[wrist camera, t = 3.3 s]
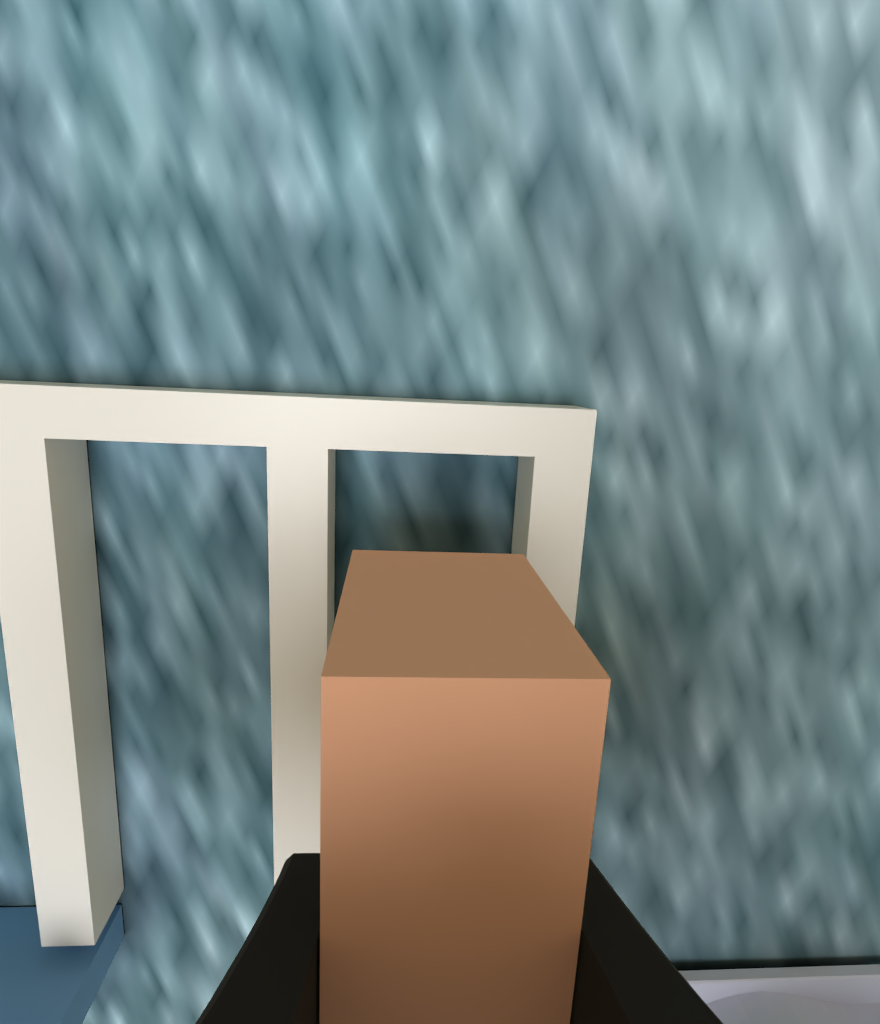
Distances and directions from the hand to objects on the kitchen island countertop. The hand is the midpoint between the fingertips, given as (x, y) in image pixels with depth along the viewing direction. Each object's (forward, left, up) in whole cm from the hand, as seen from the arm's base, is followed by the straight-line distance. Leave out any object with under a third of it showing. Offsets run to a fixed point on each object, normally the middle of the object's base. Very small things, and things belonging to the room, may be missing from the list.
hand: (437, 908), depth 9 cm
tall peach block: (0, 0, -3) cm, 3 cm away
